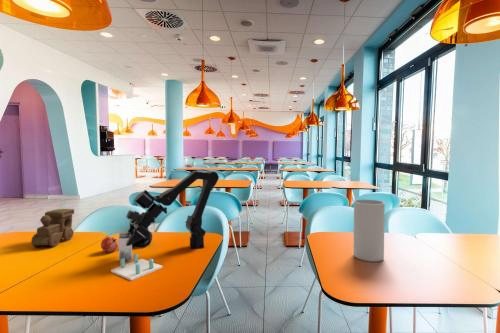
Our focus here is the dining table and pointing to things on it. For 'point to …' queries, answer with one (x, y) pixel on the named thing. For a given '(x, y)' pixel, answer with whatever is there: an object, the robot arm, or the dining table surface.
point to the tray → (132, 269)
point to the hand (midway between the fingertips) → (125, 242)
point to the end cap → (143, 242)
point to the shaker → (125, 246)
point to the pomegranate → (109, 244)
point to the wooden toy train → (54, 228)
